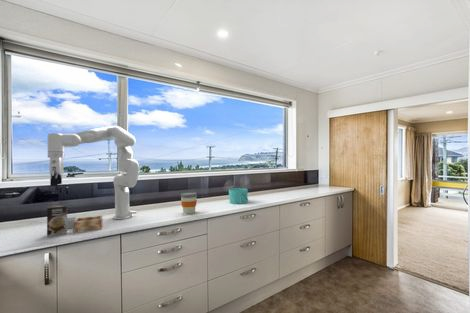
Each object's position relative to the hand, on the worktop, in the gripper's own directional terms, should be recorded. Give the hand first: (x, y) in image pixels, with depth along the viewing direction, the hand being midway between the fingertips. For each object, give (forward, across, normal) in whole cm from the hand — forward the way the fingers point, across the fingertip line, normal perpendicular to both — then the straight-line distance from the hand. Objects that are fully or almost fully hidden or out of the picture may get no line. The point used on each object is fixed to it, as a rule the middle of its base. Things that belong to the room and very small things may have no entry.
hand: (56, 184), depth 130 cm
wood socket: (+28, +5, -15) cm, 32 cm away
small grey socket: (+28, +16, -4) cm, 33 cm away
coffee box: (+28, 0, 0) cm, 29 cm away
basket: (+28, +31, -134) cm, 140 cm away
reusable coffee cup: (+28, +15, -81) cm, 87 cm away
